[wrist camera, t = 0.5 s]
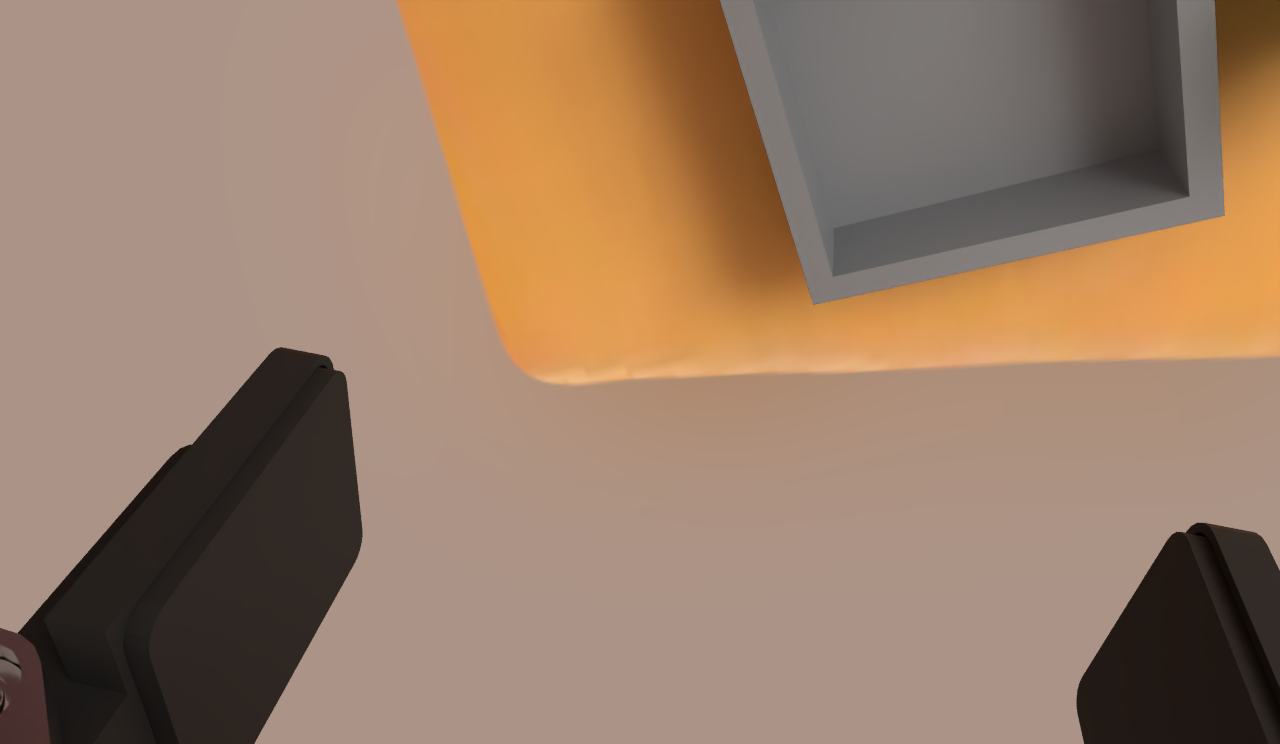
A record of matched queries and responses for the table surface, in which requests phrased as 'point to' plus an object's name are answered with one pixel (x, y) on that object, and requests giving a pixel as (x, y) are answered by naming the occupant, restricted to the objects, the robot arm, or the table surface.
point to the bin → (978, 128)
